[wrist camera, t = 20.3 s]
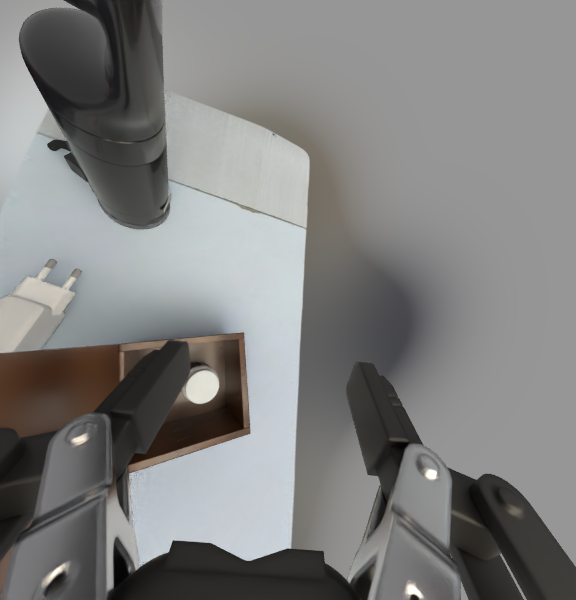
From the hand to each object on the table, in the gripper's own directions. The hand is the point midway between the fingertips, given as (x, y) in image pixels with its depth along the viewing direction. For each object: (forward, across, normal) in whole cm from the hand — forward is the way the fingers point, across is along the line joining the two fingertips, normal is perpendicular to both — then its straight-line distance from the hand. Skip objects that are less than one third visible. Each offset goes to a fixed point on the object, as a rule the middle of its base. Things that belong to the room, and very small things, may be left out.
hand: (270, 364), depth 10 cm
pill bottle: (+16, +11, +21) cm, 29 cm away
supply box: (+16, +13, +21) cm, 29 cm away
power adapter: (+16, +30, +10) cm, 35 cm away
